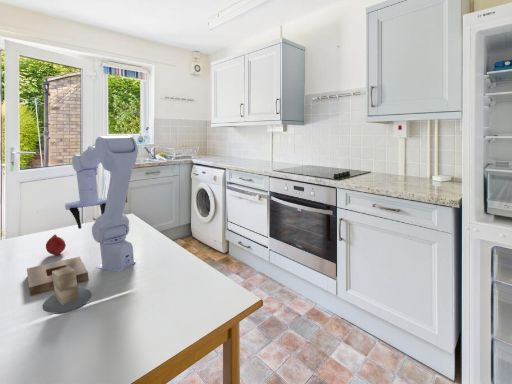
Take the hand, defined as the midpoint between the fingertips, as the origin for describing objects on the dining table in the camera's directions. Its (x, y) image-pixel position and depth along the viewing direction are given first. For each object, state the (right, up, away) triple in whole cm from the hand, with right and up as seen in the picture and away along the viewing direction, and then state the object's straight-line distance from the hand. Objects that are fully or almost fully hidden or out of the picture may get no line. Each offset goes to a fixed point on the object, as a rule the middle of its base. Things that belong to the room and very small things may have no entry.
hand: (92, 225), depth 107 cm
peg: (+9, -16, -28) cm, 34 cm away
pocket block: (-1, -14, -17) cm, 22 cm away
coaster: (+9, -17, -28) cm, 34 cm away
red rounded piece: (-12, -11, 0) cm, 16 cm away
